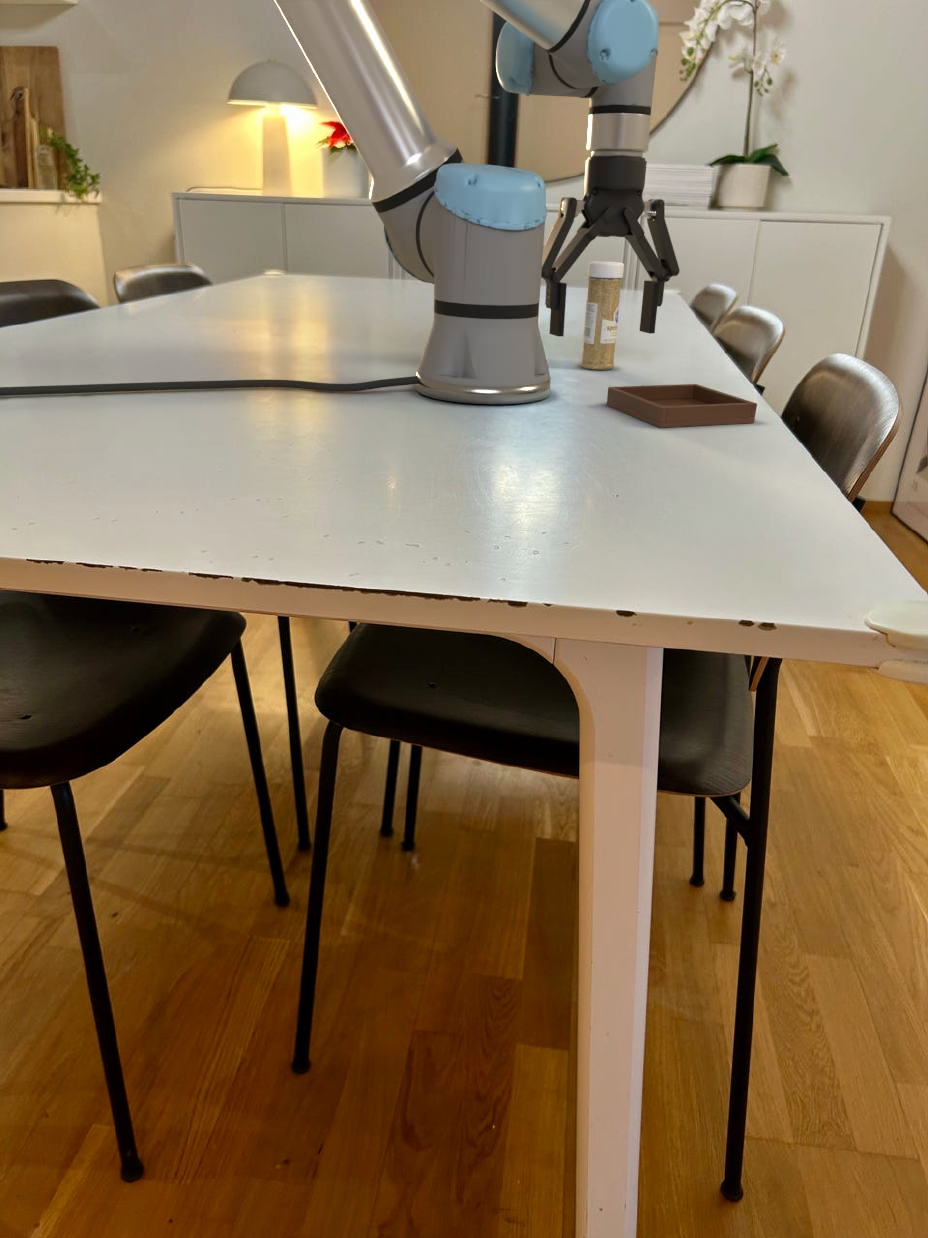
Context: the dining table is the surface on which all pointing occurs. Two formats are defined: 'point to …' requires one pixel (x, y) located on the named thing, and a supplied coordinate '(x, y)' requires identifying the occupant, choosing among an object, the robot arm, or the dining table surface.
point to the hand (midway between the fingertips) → (602, 333)
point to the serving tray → (681, 405)
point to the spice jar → (601, 314)
